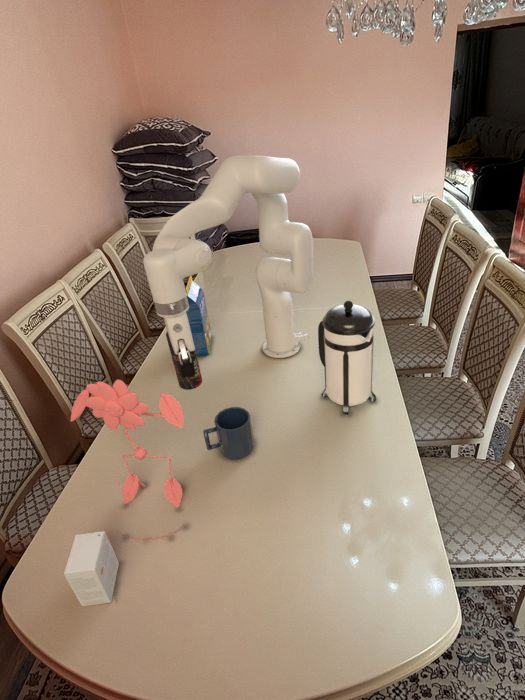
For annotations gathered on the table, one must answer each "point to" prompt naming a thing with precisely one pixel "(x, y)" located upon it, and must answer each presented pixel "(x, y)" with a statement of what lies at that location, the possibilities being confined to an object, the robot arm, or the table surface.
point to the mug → (232, 433)
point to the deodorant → (185, 382)
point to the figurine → (130, 426)
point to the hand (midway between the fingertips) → (187, 367)
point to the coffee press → (347, 354)
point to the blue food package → (198, 318)
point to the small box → (92, 568)
